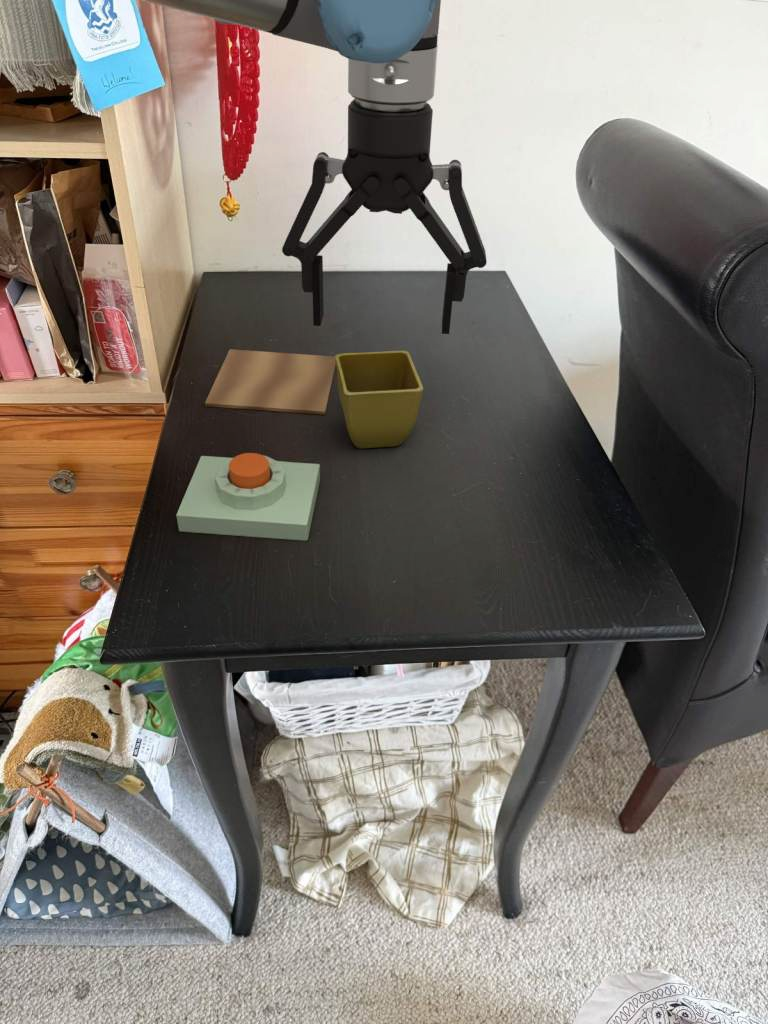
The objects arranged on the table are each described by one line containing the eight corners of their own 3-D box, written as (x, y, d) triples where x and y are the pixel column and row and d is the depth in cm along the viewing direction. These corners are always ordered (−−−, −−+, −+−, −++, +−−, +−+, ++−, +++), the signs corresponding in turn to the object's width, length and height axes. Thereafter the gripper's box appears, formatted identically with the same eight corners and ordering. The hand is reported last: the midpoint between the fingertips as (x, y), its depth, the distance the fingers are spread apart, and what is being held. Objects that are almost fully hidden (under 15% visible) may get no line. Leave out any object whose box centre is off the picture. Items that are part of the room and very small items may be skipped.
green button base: (178, 531, 73) (173, 501, 71) (203, 471, 81) (199, 441, 78) (307, 541, 73) (306, 510, 70) (320, 479, 81) (319, 450, 78)
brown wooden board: (205, 406, 91) (204, 403, 90) (229, 352, 101) (229, 349, 101) (325, 414, 90) (325, 411, 90) (337, 359, 101) (337, 356, 101)
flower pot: (418, 456, 85) (424, 389, 79) (343, 461, 83) (344, 393, 78) (403, 414, 91) (408, 349, 85) (334, 419, 90) (334, 353, 84)
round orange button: (226, 488, 73) (224, 474, 72) (235, 464, 76) (233, 451, 75) (266, 491, 73) (265, 477, 72) (273, 467, 76) (272, 453, 75)
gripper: (240, 102, 61) (259, 333, 75) (537, 119, 61) (500, 348, 75) (257, 84, 67) (272, 301, 81) (528, 99, 67) (496, 315, 81)
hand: (381, 324), depth 78 cm, fingers open, 13 cm apart
